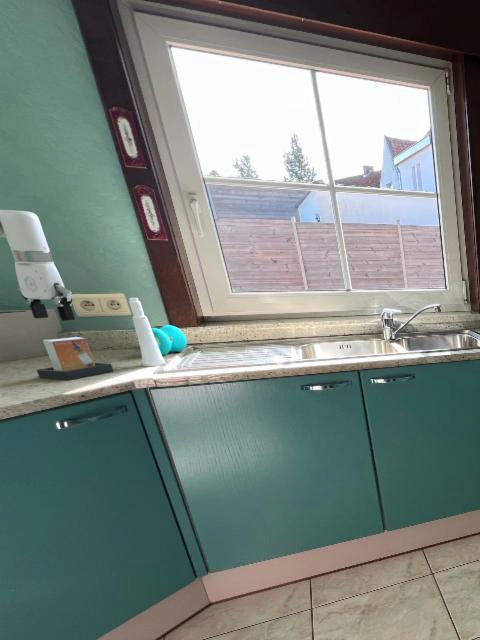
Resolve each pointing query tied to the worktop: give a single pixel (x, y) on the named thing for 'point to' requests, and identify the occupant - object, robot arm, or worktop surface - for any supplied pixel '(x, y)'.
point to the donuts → (165, 341)
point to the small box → (69, 353)
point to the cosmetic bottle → (145, 336)
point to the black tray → (75, 372)
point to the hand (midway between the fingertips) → (55, 319)
